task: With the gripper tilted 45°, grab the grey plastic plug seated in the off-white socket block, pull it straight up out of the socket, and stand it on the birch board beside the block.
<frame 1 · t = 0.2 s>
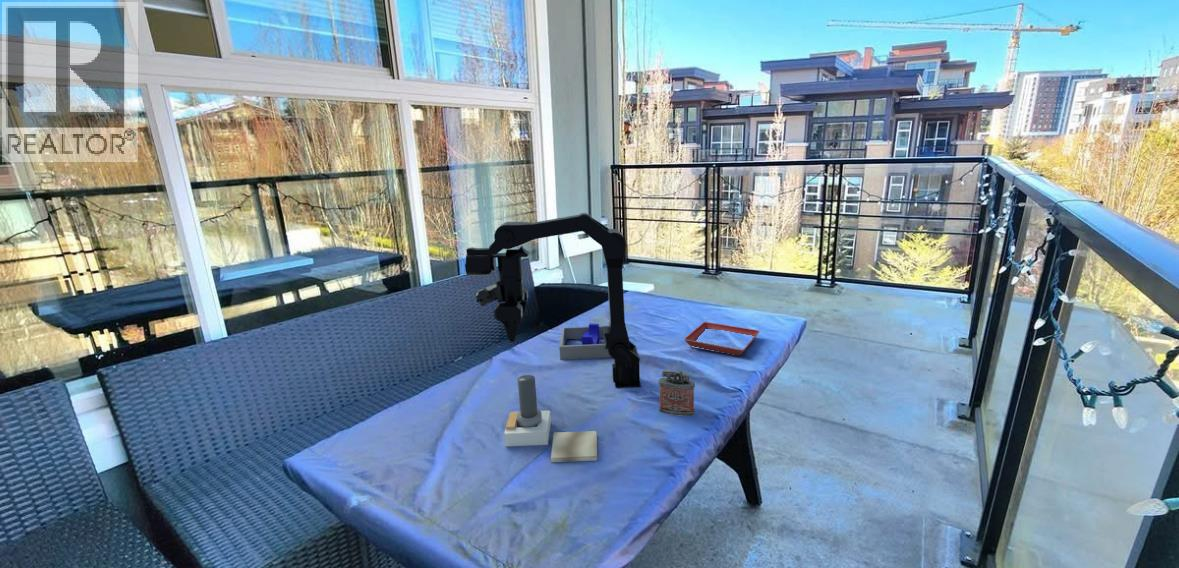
hand: (514, 334, 125), 15 cm above the table, tool pointing down, fingers open, 9 cm apart
storage tray: (588, 347, 153), on the table
plant saucer: (722, 345, 152), on the table
socket block: (529, 434, 107), on the table
birch board: (574, 448, 101), on the table
lighter: (676, 412, 114), on the table
plug: (530, 434, 107), resting in socket block
blue stepped block: (589, 348, 153), resting in storage tray
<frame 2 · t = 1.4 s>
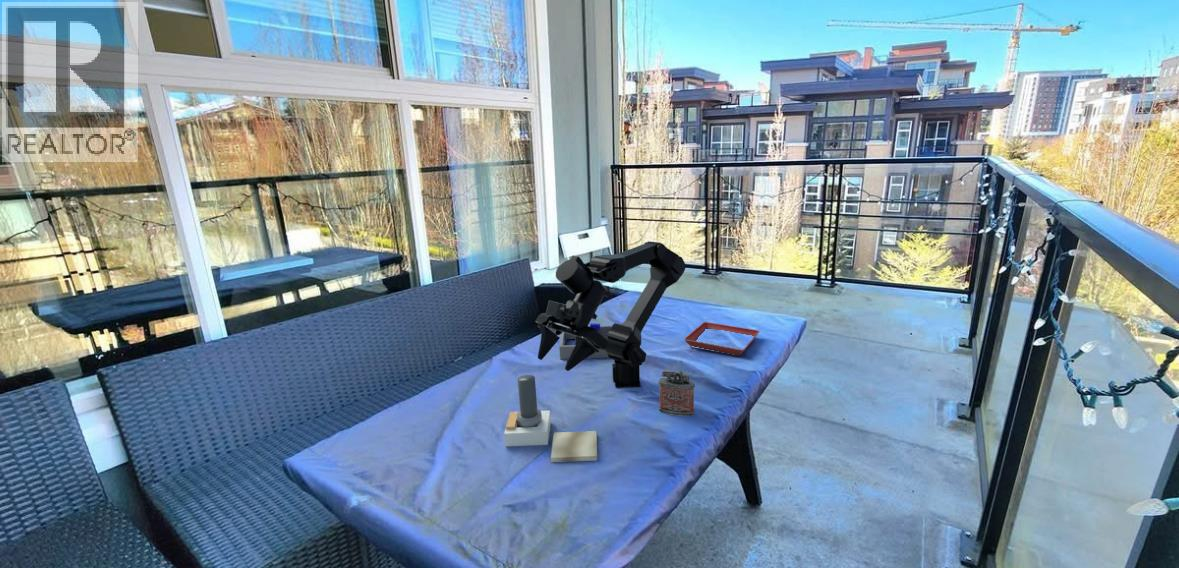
hand: (552, 364, 109), 13 cm above the table, tool tilted 45°, fingers open, 9 cm apart
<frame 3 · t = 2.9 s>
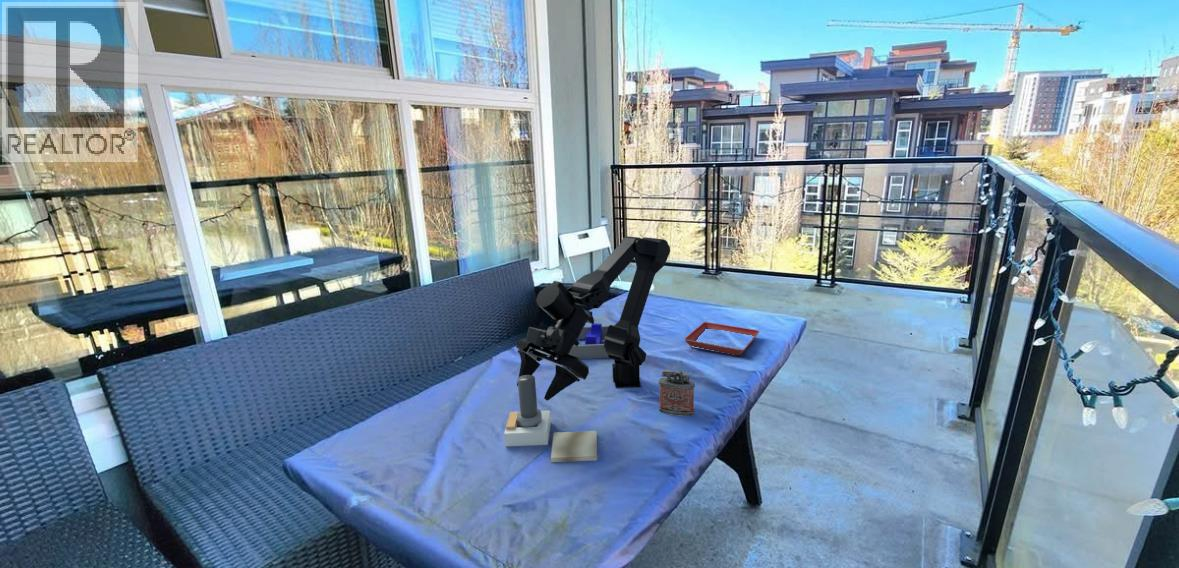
hand: (531, 393, 106), 9 cm above the table, tool tilted 45°, fingers open, 9 cm apart
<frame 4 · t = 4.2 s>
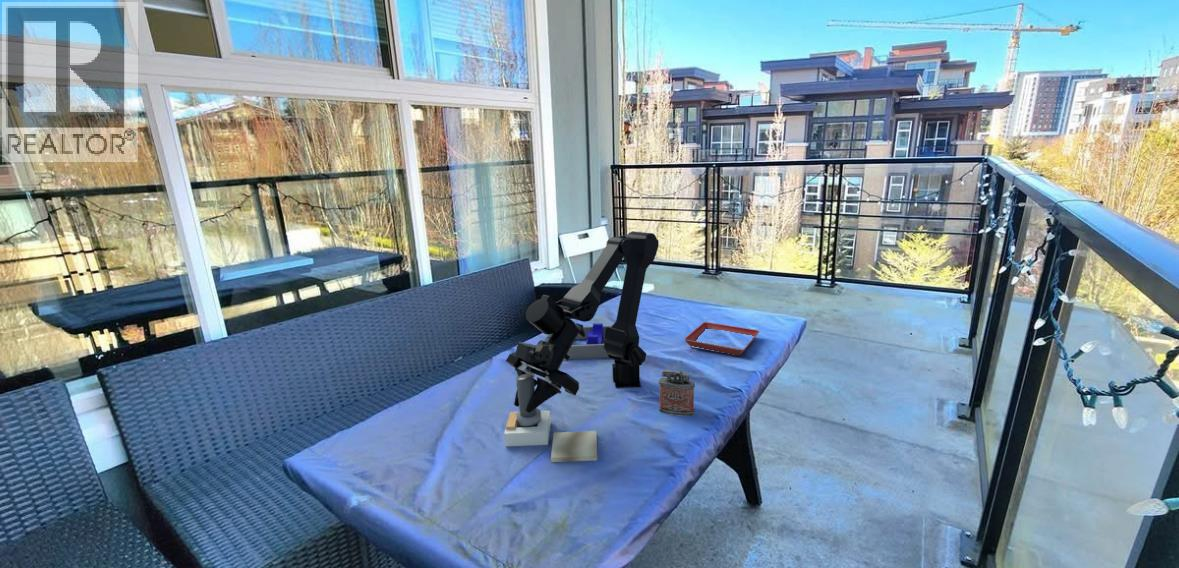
hand: (521, 408, 104), 7 cm above the table, tool tilted 45°, fingers closed on plug, 4 cm apart
plug: (530, 433, 107), resting in socket block, touching gripper
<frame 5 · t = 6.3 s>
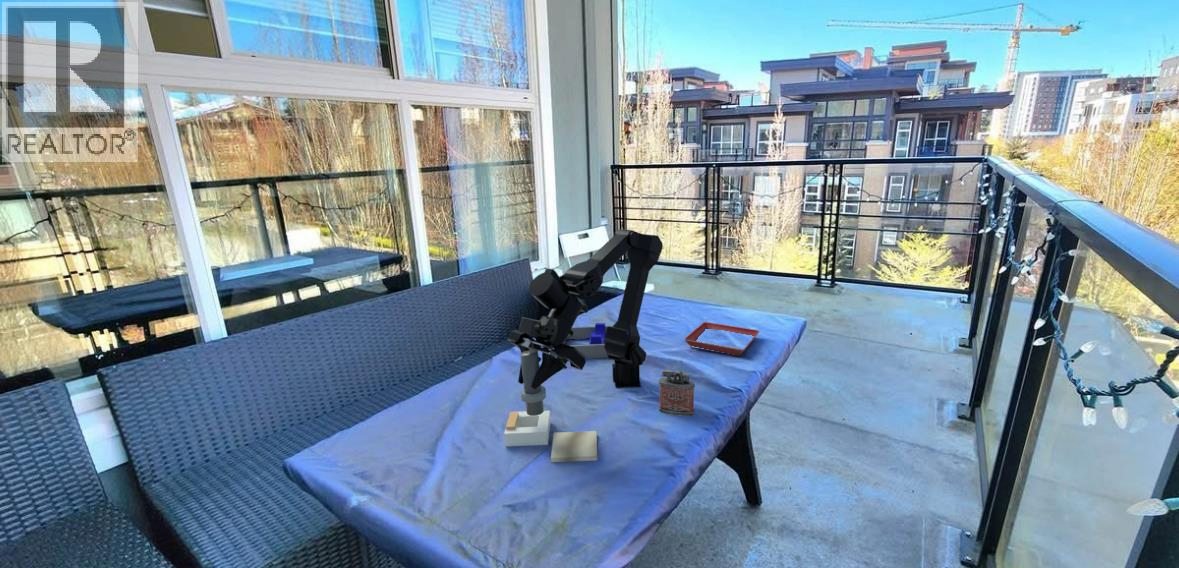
hand: (526, 385, 102), 12 cm above the table, tool tilted 45°, fingers closed on plug, 4 cm apart
plug: (535, 411, 104), point 6 cm above the table, touching gripper
when the fingers open (9 cm above the table, at t = 8.2 s): plug drops 1 cm, resting on birch board.
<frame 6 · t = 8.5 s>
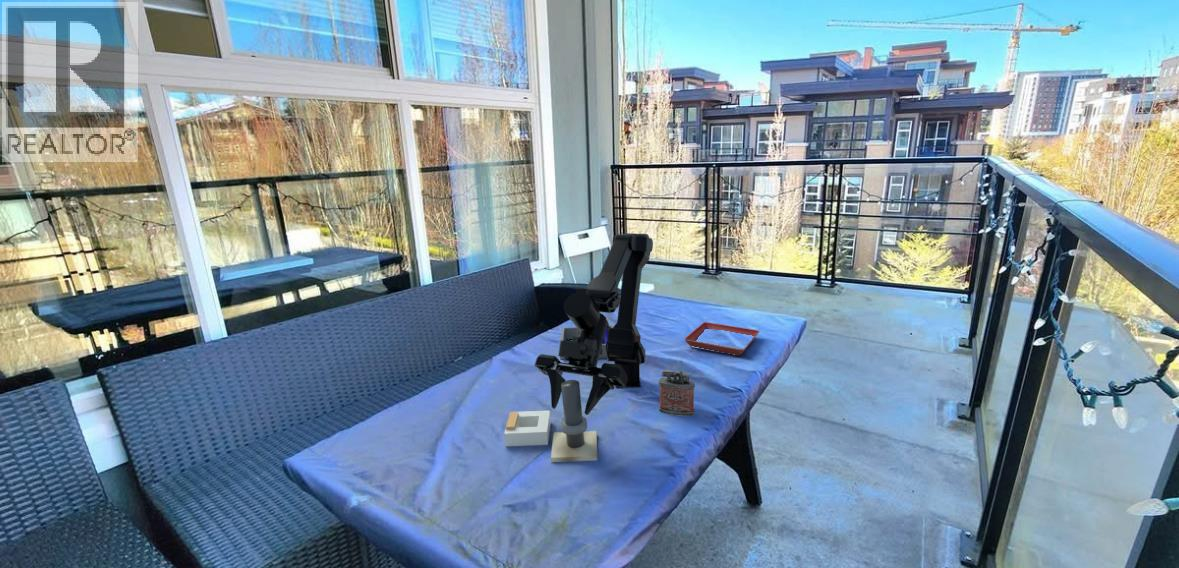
hand: (569, 411, 98), 9 cm above the table, tool tilted 45°, fingers open, 7 cm apart
plug: (575, 442, 101), point 1 cm above the table, touching birch board
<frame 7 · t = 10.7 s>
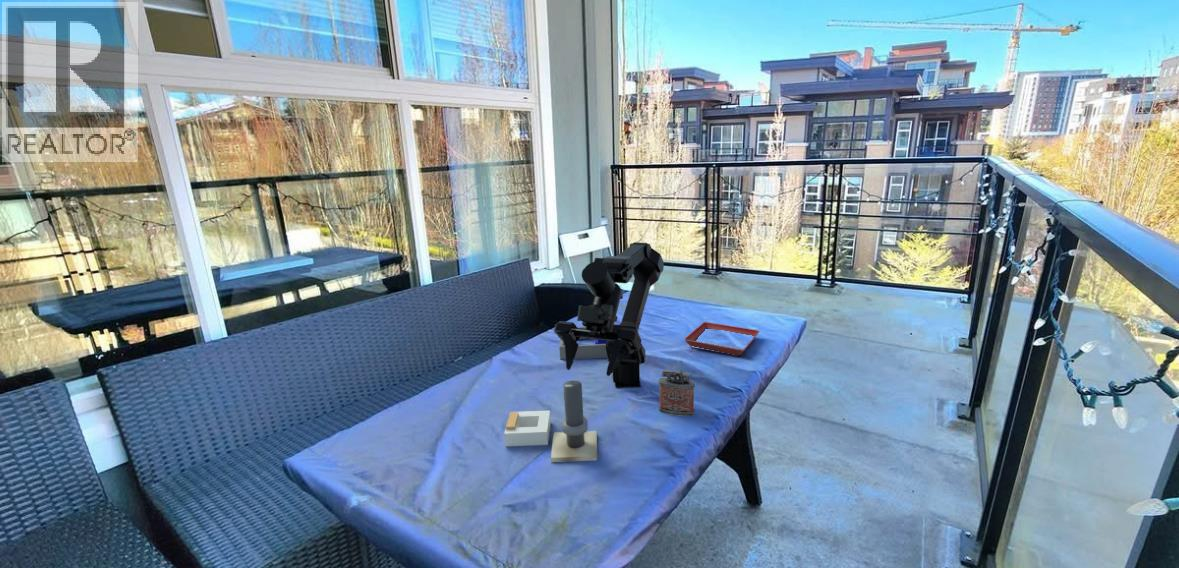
hand: (587, 372, 105), 13 cm above the table, tool tilted 45°, fingers open, 9 cm apart
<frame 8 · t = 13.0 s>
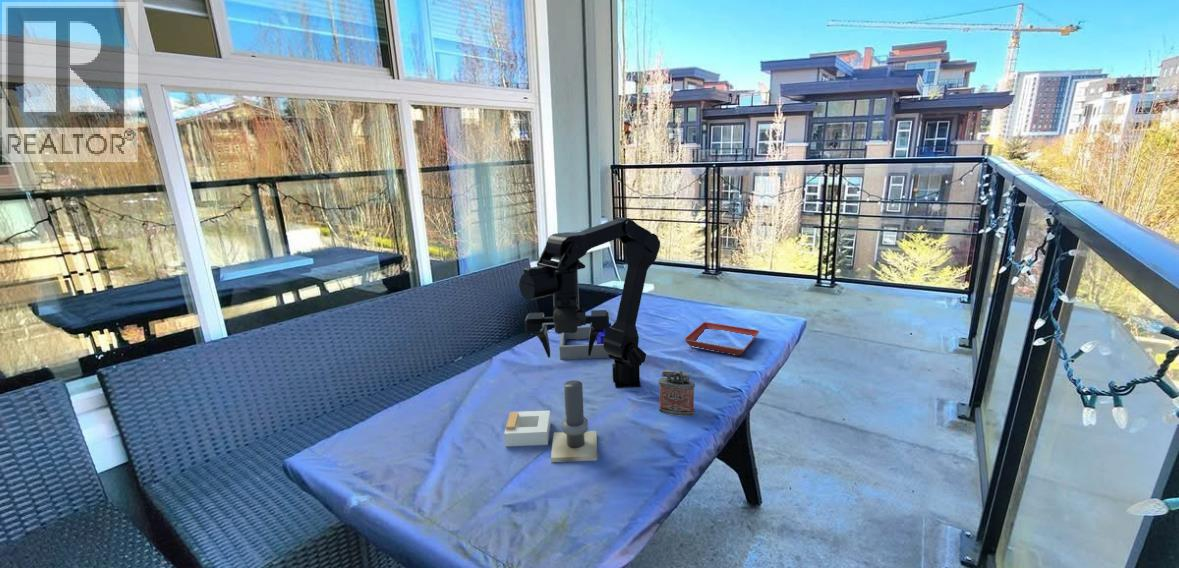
hand: (569, 356, 114), 13 cm above the table, tool pointing down, fingers open, 9 cm apart
at the end: plug 0.3 cm off-centre on the birch board, point 1.0 cm above the birch board's base; plug tilted 1°; the gripper is holding nothing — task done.
